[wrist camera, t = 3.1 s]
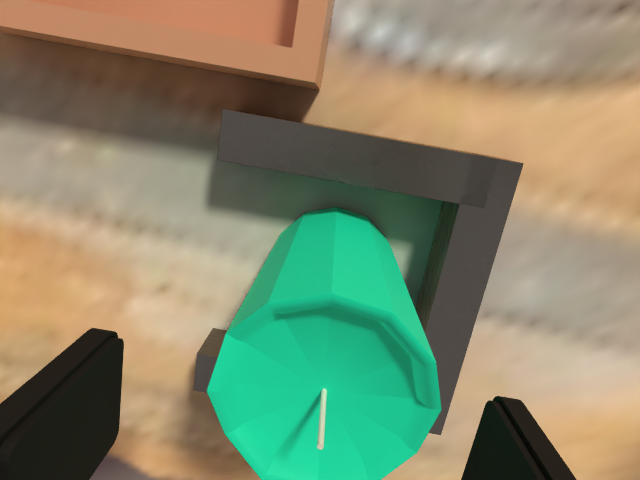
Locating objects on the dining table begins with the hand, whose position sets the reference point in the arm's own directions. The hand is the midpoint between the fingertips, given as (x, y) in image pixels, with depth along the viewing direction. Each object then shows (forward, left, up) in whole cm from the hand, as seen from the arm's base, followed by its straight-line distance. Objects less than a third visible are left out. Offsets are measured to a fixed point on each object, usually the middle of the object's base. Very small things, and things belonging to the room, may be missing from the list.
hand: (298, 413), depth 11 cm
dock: (-1, 0, -11) cm, 11 cm away
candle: (-1, 0, -11) cm, 11 cm away
